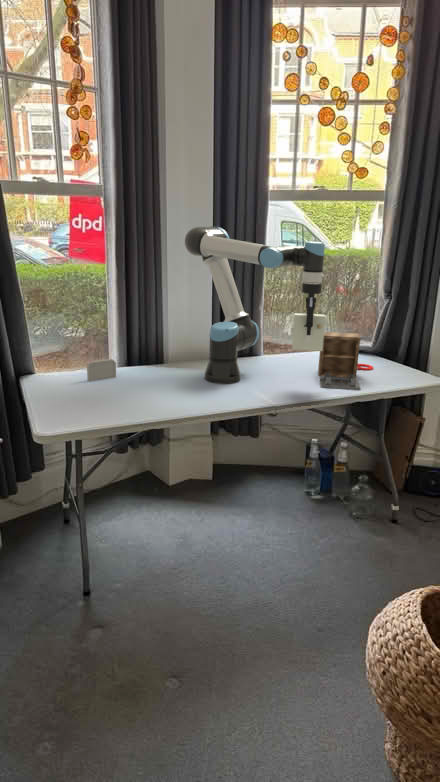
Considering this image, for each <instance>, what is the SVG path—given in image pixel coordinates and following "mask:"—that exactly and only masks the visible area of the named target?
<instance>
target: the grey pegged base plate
mask: <svg viewBox="0 0 440 782" xmlns="http://www.w3.org/2000/svg"><path fill="white" fill-rule="evenodd" d="M319 386H320V388H326V389H327V388H328V389H343V390H357V391H361V389H362V388H361V386H360V382H359V380H357V378H354V374H349V378H348V379H338V378H332V377H331V376H330V373H327V372H325V376H324V377H319Z"/></svg>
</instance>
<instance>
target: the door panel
mask: <svg viewBox="0 0 440 782" xmlns="http://www.w3.org/2000/svg"><path fill="white" fill-rule="evenodd" d="M293 317H294V318H293V332H292V344H291V345H292V347H291V349H292V350H293V351H294V350H295V351H309V352H317V351H318V352H320V351H322V350H323V338H324V332H325V324H326V315H325V314H319V313H318V314H317V313H313V326H312V340H311V343H304V341H305V328H306V327H304V325H306V319H307V314H306V313H299V312H297V313H296V312H295V313H294V316H293Z"/></svg>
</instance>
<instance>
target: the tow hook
mask: <svg viewBox="0 0 440 782" xmlns="http://www.w3.org/2000/svg"><path fill="white" fill-rule="evenodd" d="M359 348H360V346H359ZM357 370H362V371H372V370H374V366H373V365H370V364H366V363H358V364H357Z"/></svg>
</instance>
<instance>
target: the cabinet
mask: <svg viewBox="0 0 440 782" xmlns="http://www.w3.org/2000/svg"><path fill="white" fill-rule="evenodd" d="M360 344H361V336H360V334H359V333H354V332H353V333H352V332H333V331H331V332H330V331H324V338H323V350H322V351H319V357H318V366H317V367H318V369H317V372H318V376H320V377H325V372H327V373H330V377H331V378H332V377H335V378H348V379H349V374H354V378H355V379H357V373H358V371H357V364H359V356H360V355H359V354H360V347H359V346H360Z"/></svg>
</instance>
